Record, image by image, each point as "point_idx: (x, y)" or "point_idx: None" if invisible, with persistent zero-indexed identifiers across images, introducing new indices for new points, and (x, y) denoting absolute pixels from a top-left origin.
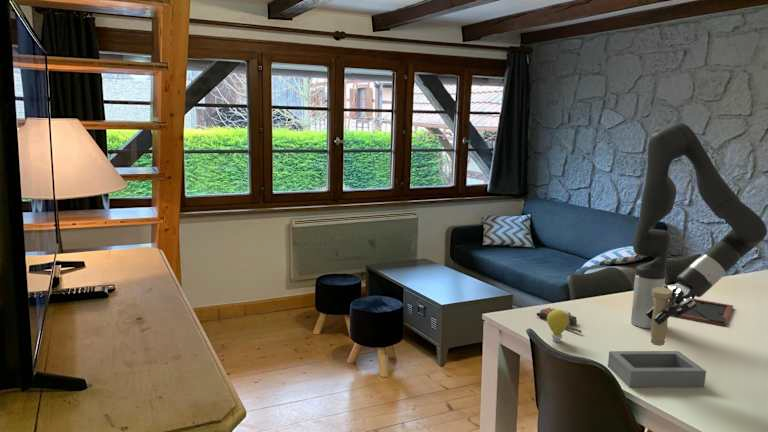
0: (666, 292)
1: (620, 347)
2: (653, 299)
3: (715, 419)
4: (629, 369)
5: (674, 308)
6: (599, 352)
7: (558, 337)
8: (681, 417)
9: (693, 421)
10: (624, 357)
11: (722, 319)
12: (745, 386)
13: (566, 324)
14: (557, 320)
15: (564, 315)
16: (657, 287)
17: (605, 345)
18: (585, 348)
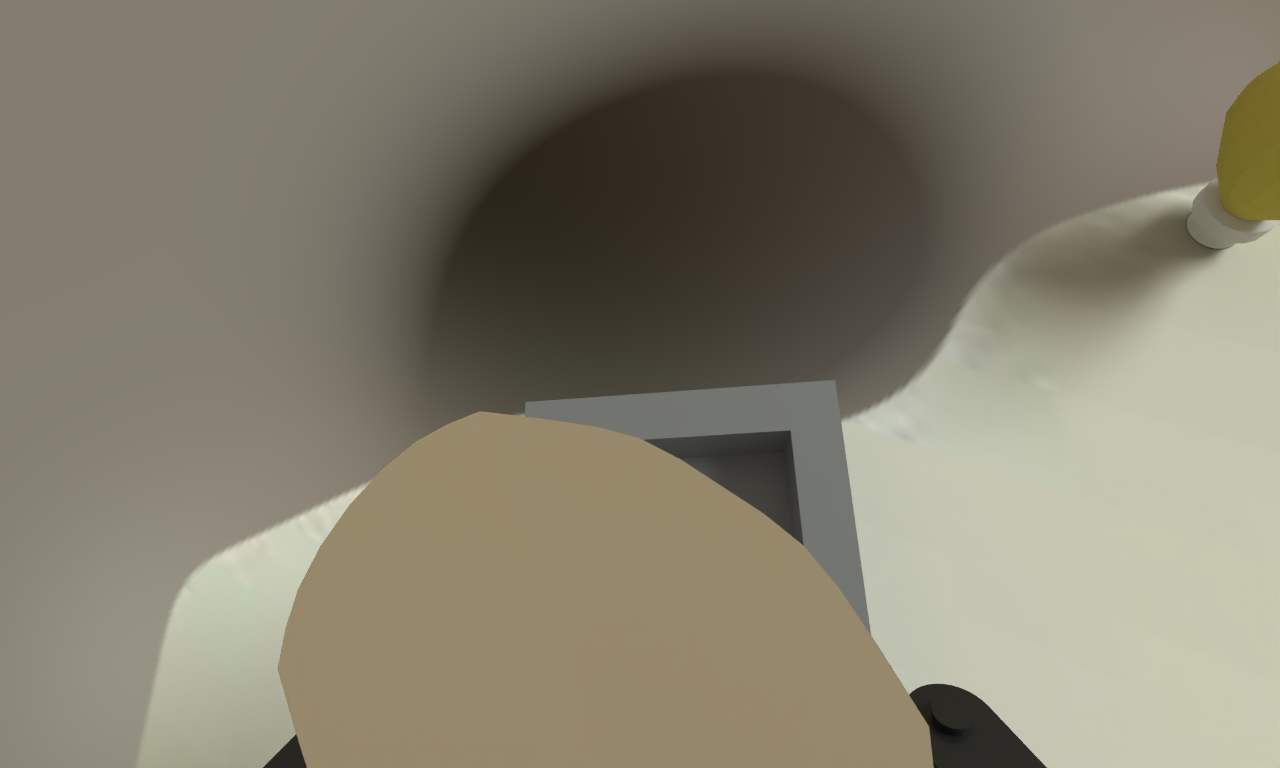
0: (404, 721)
1: (1200, 628)
2: (964, 693)
3: (198, 723)
4: (549, 403)
5: (298, 752)
6: (1050, 436)
7: (1198, 211)
8: (248, 552)
9: (207, 591)
10: (792, 473)
11: None
12: None
13: (1259, 184)
14: (1253, 98)
15: None
16: (894, 713)
17: (1211, 525)
18: (1105, 367)
